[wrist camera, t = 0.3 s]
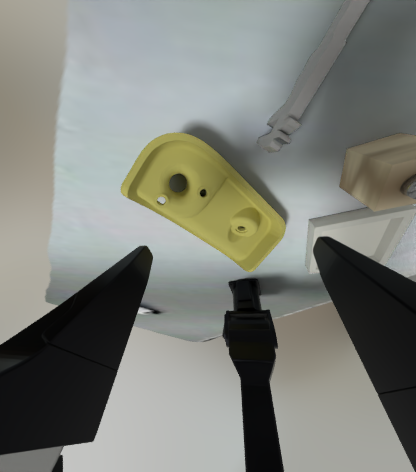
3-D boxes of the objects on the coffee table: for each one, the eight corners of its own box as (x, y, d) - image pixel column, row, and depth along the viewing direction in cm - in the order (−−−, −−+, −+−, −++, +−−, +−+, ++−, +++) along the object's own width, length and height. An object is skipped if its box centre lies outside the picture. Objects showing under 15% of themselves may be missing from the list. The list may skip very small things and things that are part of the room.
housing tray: (376, 255, 26) (385, 264, 25) (305, 265, 29) (309, 273, 28) (404, 200, 20) (418, 207, 18) (308, 219, 23) (314, 227, 21)
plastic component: (291, 227, 21) (245, 280, 23) (261, 214, 28) (227, 255, 29) (171, 103, 13) (109, 202, 14) (167, 126, 19) (126, 191, 21)
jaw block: (383, 175, 18) (449, 204, 13) (339, 186, 19) (382, 217, 14) (399, 132, 15) (490, 147, 10) (346, 148, 17) (403, 168, 11)
